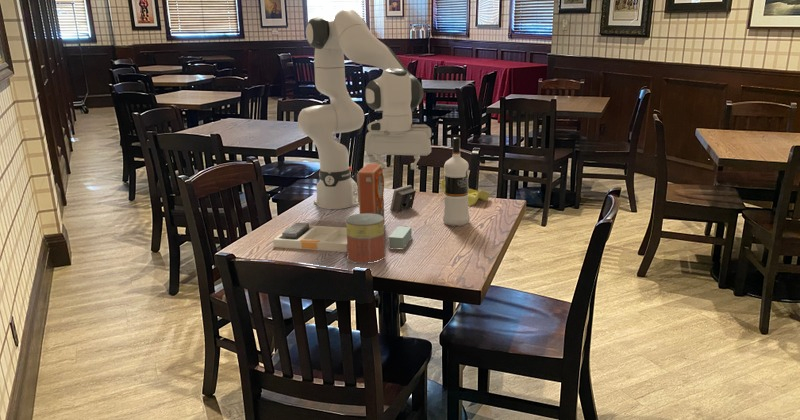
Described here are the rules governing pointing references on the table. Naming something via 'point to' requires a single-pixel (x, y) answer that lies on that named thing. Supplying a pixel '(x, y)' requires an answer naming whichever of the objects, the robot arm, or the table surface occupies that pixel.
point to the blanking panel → (400, 237)
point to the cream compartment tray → (317, 239)
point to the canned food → (365, 237)
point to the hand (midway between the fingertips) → (398, 169)
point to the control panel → (371, 189)
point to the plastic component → (471, 194)
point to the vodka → (456, 188)
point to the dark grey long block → (296, 231)
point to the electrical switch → (402, 199)
